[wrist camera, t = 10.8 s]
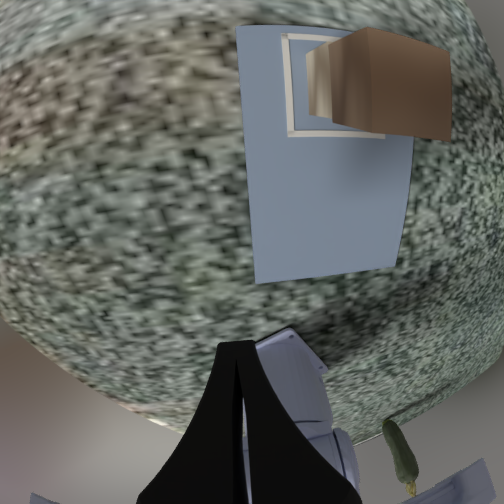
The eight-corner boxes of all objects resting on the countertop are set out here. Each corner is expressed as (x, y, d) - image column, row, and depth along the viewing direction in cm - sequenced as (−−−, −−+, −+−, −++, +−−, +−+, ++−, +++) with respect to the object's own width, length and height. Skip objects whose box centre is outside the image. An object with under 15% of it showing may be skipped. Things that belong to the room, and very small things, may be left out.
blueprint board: (391, 262, 22) (395, 266, 21) (255, 278, 21) (255, 284, 21) (406, 46, 13) (412, 45, 12) (235, 28, 12) (235, 25, 12)
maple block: (367, 117, 15) (400, 124, 12) (309, 114, 15) (332, 118, 11) (365, 60, 13) (398, 53, 10) (305, 54, 13) (327, 41, 9)
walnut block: (400, 127, 12) (450, 142, 8) (332, 122, 12) (371, 133, 8) (398, 57, 10) (449, 52, 6) (328, 45, 9) (366, 26, 6)
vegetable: (379, 417, 41) (407, 501, 24) (399, 409, 41) (429, 491, 24) (377, 424, 43) (402, 503, 26) (396, 417, 43) (423, 493, 26)
